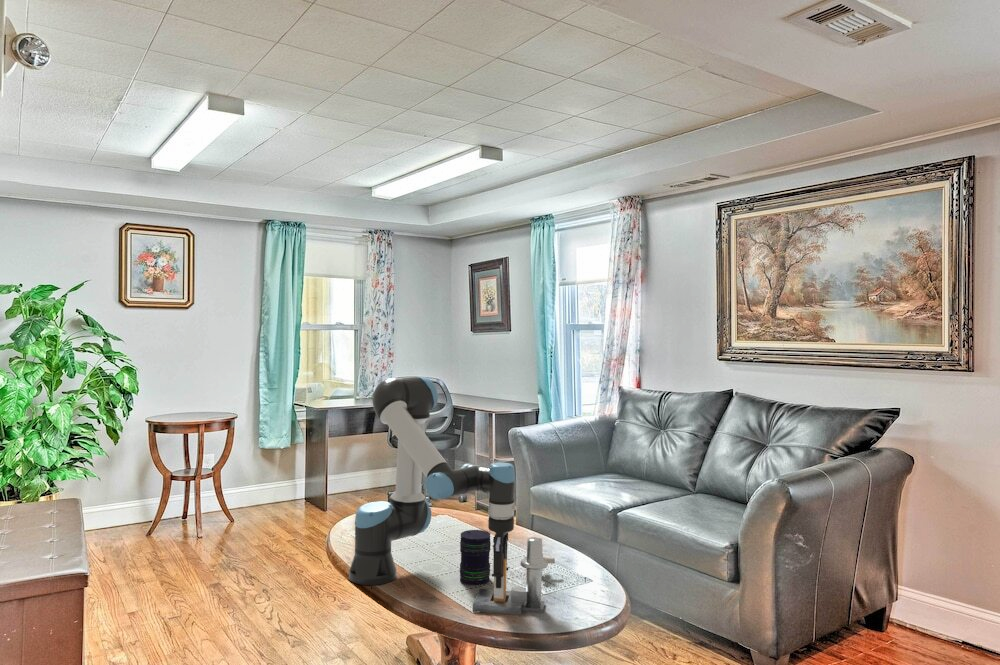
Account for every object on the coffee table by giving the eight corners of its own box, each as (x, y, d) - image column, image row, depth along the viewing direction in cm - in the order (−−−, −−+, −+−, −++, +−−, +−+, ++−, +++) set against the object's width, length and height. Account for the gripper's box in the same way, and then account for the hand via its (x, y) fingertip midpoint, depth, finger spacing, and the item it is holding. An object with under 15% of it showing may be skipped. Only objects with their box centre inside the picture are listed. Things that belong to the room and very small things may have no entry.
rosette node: (472, 611, 201) (473, 542, 201) (480, 595, 213) (481, 530, 213) (545, 617, 198) (546, 546, 198) (548, 600, 210) (550, 534, 210)
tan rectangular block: (493, 602, 205) (494, 561, 205) (495, 598, 208) (496, 557, 208) (504, 603, 204) (505, 562, 204) (505, 598, 207) (506, 558, 207)
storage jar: (496, 580, 226) (497, 534, 226) (475, 588, 219) (476, 540, 218) (474, 572, 233) (475, 527, 232) (453, 580, 225) (453, 534, 225)
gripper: (509, 524, 197) (508, 607, 197) (517, 509, 213) (516, 586, 213) (483, 523, 198) (482, 605, 199) (493, 508, 214) (491, 584, 215)
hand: (499, 595), depth 206 cm, fingers closed on tan rectangular block, 3 cm apart
